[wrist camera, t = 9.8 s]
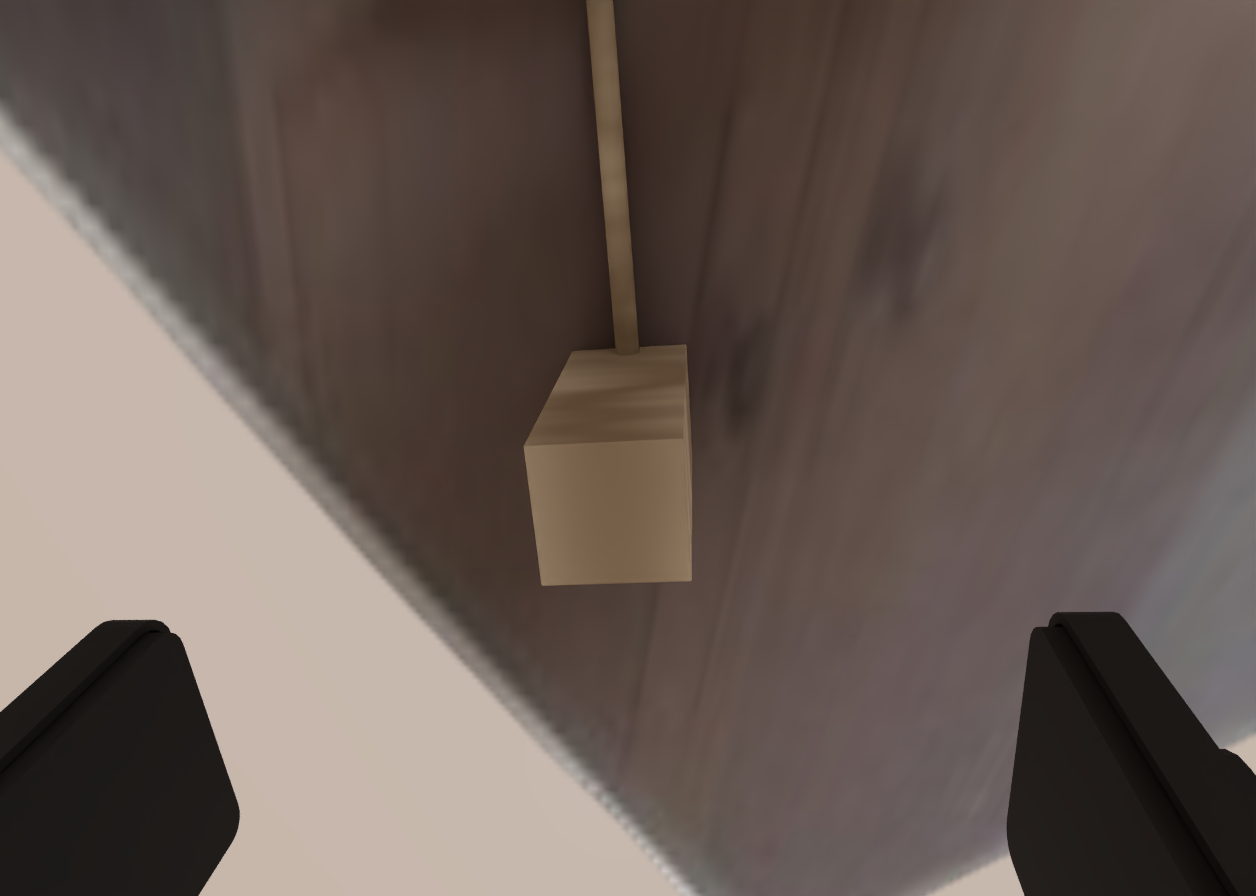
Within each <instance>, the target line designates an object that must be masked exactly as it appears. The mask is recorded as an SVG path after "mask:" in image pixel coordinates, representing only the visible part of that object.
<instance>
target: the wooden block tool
mask: <svg viewBox="0 0 1256 896" xmlns="http://www.w3.org/2000/svg"><path fill="white" fill-rule="evenodd" d="M586 6H587V17H588V29H589V41H590V53H591V65H592V76H593V88H594V100H595V112H596V123H597V135H598V147H599V159H600V170H601V182H602V194H603V206H604V217H605V229H606V241H607V253H608V265H609V276H610V288H611V300H612V312H613V323H614V335H615V347H616V348H615V349H598V350H580V351H572V353H571V355H570V357H569V359H568V361H567V363H566V365H565V366H564V368H563V370H562V372H561V374H560V376H559V378H558V380H557V382H556V384H555V386H554V388H553V390H552V392H551V394H550V396H549V398H548V400H547V402H546V403H545V405H544V407H543V409H542V411H541V413H540V415H539V417H538V419H537V421H536V423H535V425H534V427H533V429H532V431H531V433H530V435H529V437H528V438H527V440H526V442H525V444H524V453H525V461H526V469H527V476H528V484H529V492H530V500H531V507H532V515H533V523H534V531H535V538H536V546H537V554H538V561H539V569H540V577H541V585H542V586H552V585H583V584H614V583H645V582H676V581H692V438H691V420H690V401H689V383H688V365H687V347H686V344H684V345H666V346H649V347H639V340H638V327H637V314H636V300H635V287H634V274H633V260H632V247H631V234H630V220H629V207H628V194H627V180H626V167H625V154H624V140H623V127H622V114H621V100H620V87H619V74H618V60H617V47H616V34H615V20H614V7H613V0H586Z"/></svg>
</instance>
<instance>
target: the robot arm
mask: <svg viewBox="0 0 1256 896" xmlns="http://www.w3.org/2000/svg"><path fill="white" fill-rule="evenodd" d="M239 817H240V811H239V806H238V802H237V799H236V796H235V794H234V791H233V788H232V785H231V782H230V779H229V776H228V773H227V770H226V767H225V764H224V761H223V759H222V756H221V753H220V750H219V747H218V744H217V741H216V738H215V736H214V732H213V729H212V727H211V724H210V721H209V718H208V715H207V712H206V709H205V706H204V703H203V700H202V698H201V695H200V692H199V689H198V686H197V683H196V680H195V677H194V674H193V671H192V668H191V666H190V663H189V660H188V657H187V654H186V651H185V648H184V645H183V643H182V641H181V639H180V638H179V637H178V636H177V635H176V634H174V633H171V632H170V630H169V628H168V627H167V626H166V625H165V624H164V623H162V622H161V621H157V620H112V621H106V622H103V623H102V624H100V625H99V626H97V627H96V628H94V629H93V630H92V631H91V632H90V633H89V634H88V635H87V636H85V638H83V639H82V640H81V641H80V642H79V643H78V644H77V645H75V646H74V647H73V648H72V649H71V650H70V651H69V652H67V653H66V654H65V655H64V656H63V657H62V658H61V659H60V660H59V661H57V662H56V663H55V664H54V665H53V666H52V667H51V668H49V669H48V670H47V671H46V672H45V673H44V674H43V675H42V676H40V677H39V678H38V679H37V680H36V681H35V682H34V683H33V684H32V685H30V686H29V687H28V688H27V689H26V690H25V691H24V692H23V693H22V694H20V695H19V696H18V697H17V698H16V699H15V700H14V701H12V702H11V703H10V704H9V705H8V706H7V707H6V708H5V709H4V710H2V711H1V712H0V896H198V895H199V894H200V892H201V891H202V889H203V887H204V886H205V884H206V882H207V881H208V879H209V878H210V876H211V875H212V873H213V872H214V870H215V868H216V867H217V865H218V864H219V862H220V861H221V859H222V857H223V856H224V854H225V853H226V851H227V850H228V848H229V846H230V845H231V843H232V841H233V840H234V837H235V835H236V833H237V829H238V825H239V819H240V818H239ZM1007 839H1008V846H1009V851H1010V856H1011V859H1012V862H1013V865H1014V868H1015V871H1016V873H1017V876H1018V879H1019V881H1020V884H1021V887H1022V890H1023V892H1024V895H1025V896H1256V775H1255V774H1254V773H1253V772H1252V770H1251V769H1250V768H1249V767H1248V766H1247V764H1246V763H1245V762H1244V761H1243V760H1242V759H1241V758H1240V757H1239V756H1238V755H1236V754H1234V753H1232V752H1230V751H1228V750H1226V749H1219V748H1218V746H1217V745H1216V744H1215V742H1214V741H1213V740H1212V738H1211V737H1210V735H1209V734H1208V733H1207V731H1206V730H1205V729H1204V727H1203V726H1202V724H1201V723H1200V722H1199V720H1198V719H1197V718H1196V716H1195V715H1194V714H1193V712H1192V711H1191V709H1190V708H1189V707H1188V705H1187V704H1186V703H1185V701H1184V700H1183V698H1182V697H1181V696H1180V694H1179V693H1178V692H1177V690H1176V689H1175V688H1174V686H1173V685H1172V683H1171V682H1170V681H1169V679H1168V678H1167V677H1166V675H1165V674H1164V672H1163V671H1162V670H1161V668H1160V667H1159V666H1158V664H1157V663H1156V662H1155V660H1154V659H1153V657H1152V656H1151V655H1150V653H1149V652H1148V651H1147V649H1146V648H1145V647H1144V645H1143V644H1142V642H1141V641H1140V640H1139V638H1138V637H1137V636H1136V634H1135V633H1134V631H1133V630H1132V629H1131V627H1130V626H1129V625H1128V623H1127V622H1126V621H1125V619H1124V618H1123V617H1122V616H1121V615H1120V614H1118V613H1115V612H1057V613H1055V614H1053V615H1052V617H1051V619H1050V621H1049V625H1048V627H1036V628H1034V629H1033V631H1032V633H1031V637H1030V643H1029V651H1028V659H1027V667H1026V675H1025V682H1024V690H1023V698H1022V706H1021V714H1020V722H1019V730H1018V737H1017V745H1016V753H1015V761H1014V769H1013V777H1012V785H1011V792H1010V800H1009V808H1008V816H1007Z"/></svg>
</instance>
